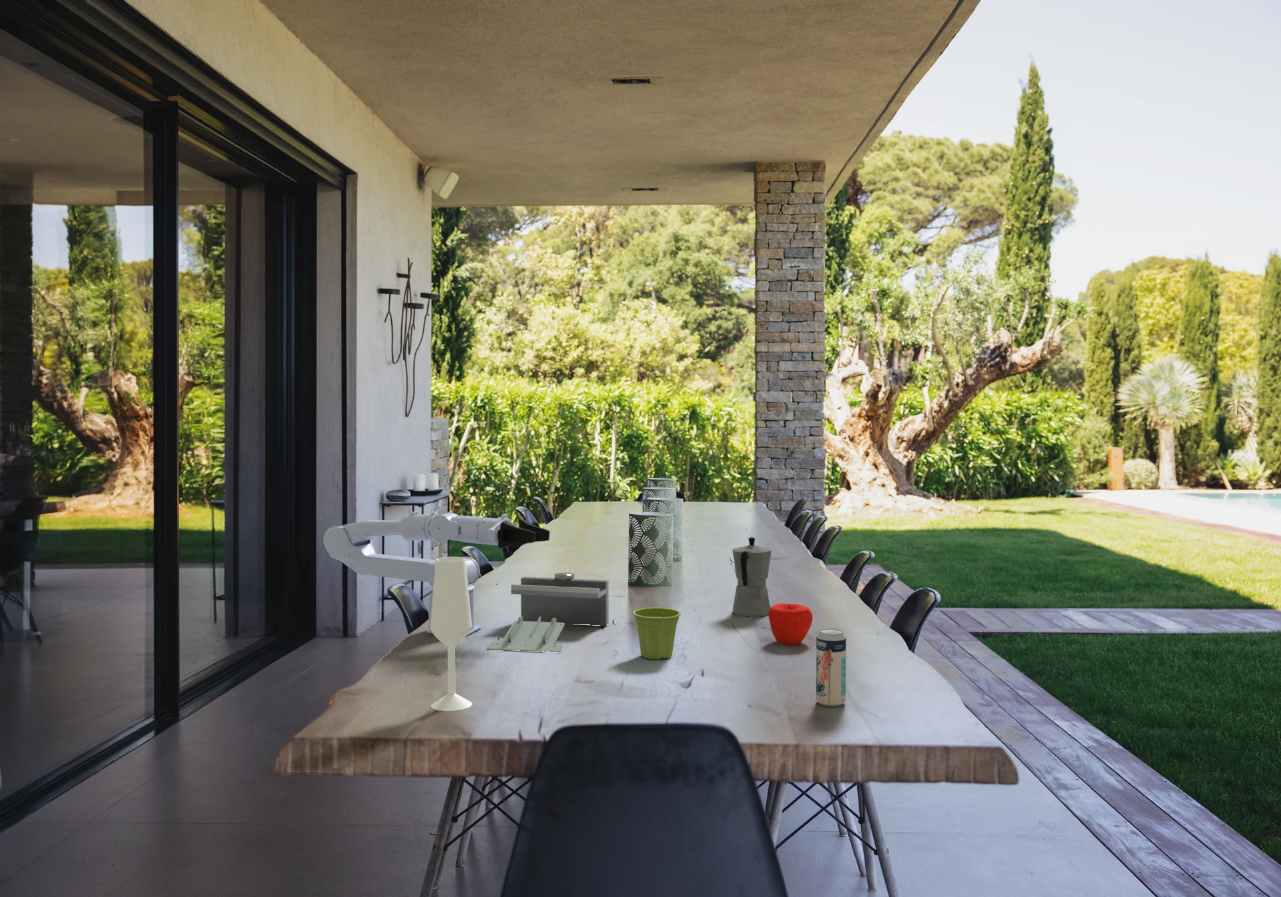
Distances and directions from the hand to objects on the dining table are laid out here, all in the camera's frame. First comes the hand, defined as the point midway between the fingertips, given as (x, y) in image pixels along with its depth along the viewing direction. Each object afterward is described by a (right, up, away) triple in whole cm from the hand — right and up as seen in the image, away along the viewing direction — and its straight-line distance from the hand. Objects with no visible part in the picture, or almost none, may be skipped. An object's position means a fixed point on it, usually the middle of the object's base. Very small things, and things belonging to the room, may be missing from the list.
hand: (541, 536), depth 214 cm
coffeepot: (+47, -21, +25) cm, 57 cm away
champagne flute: (-10, -24, -48) cm, 54 cm away
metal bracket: (-2, -22, -5) cm, 23 cm away
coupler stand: (+3, -21, +12) cm, 24 cm away
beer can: (+52, -24, -47) cm, 74 cm away
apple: (+52, -22, -4) cm, 56 cm away
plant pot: (+24, -22, -15) cm, 36 cm away
